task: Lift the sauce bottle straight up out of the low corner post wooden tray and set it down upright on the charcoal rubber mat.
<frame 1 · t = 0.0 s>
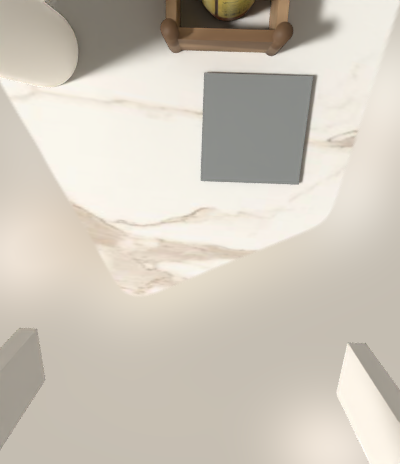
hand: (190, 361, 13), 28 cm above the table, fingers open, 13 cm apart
bottle: (44, 48, 35), on the table
mat: (253, 131, 37), on the table
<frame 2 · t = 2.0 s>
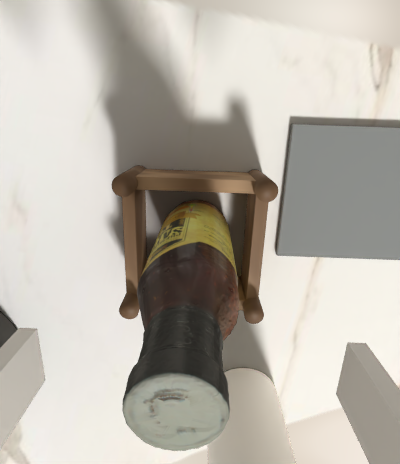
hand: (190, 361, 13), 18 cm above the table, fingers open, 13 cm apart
corner post wooden tray: (195, 230, 30), on the table
sauce bottle: (195, 230, 30), resting in corner post wooden tray
bottle: (241, 392, 37), on the table
mat: (348, 195, 29), on the table
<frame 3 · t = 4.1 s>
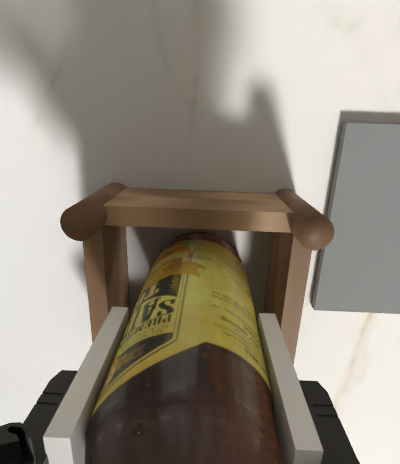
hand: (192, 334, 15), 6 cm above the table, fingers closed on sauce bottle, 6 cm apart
corner post wooden tray: (197, 274, 21), on the table
sauce bottle: (197, 273, 21), resting in corner post wooden tray, touching gripper
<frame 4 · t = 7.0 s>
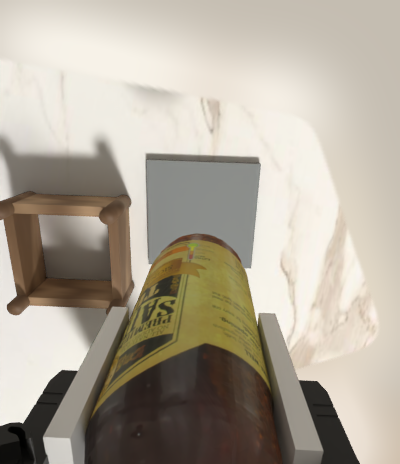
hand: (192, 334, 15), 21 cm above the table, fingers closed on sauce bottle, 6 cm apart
corner post wooden tray: (81, 243, 37), on the table
sauce bottle: (197, 273, 21), point 15 cm above the table, touching gripper
mat: (201, 215, 35), on the table
when the fingers open (8 cm above the table, at t = 10.0 s): sauce bottle stays where it is, resting on mat.
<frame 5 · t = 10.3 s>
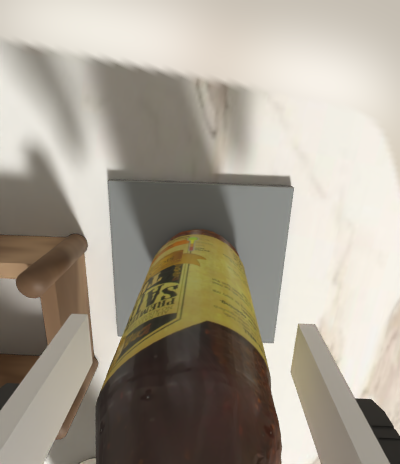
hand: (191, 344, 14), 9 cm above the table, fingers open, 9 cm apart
corner post wooden tray: (15, 304, 24), on the table
sauce bottle: (196, 268, 22), resting on mat
mat: (197, 265, 22), on the table
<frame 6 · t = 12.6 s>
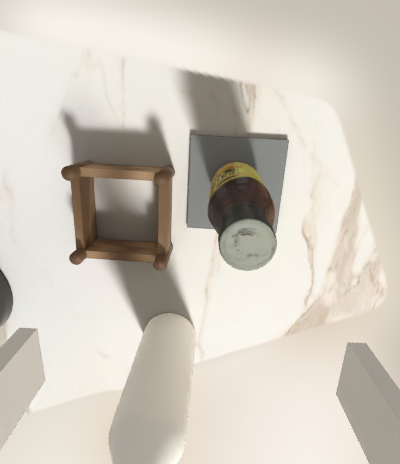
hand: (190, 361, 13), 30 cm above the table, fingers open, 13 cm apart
corner post wooden tray: (129, 208, 42), on the table
sauce bottle: (234, 186, 40), resting on mat
bottle: (170, 333, 49), on the table
mat: (235, 185, 41), on the table
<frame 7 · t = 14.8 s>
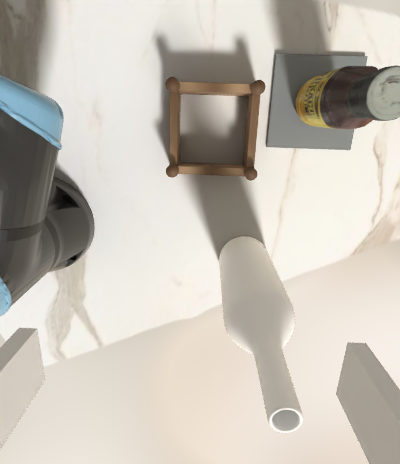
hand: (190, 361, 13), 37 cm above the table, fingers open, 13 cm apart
corner post wooden tray: (212, 130, 45), on the table
sauce bottle: (314, 104, 43), resting on mat
bottle: (243, 258, 52), on the table
mat: (313, 104, 44), on the table
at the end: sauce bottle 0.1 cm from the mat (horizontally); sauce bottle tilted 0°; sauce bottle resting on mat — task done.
